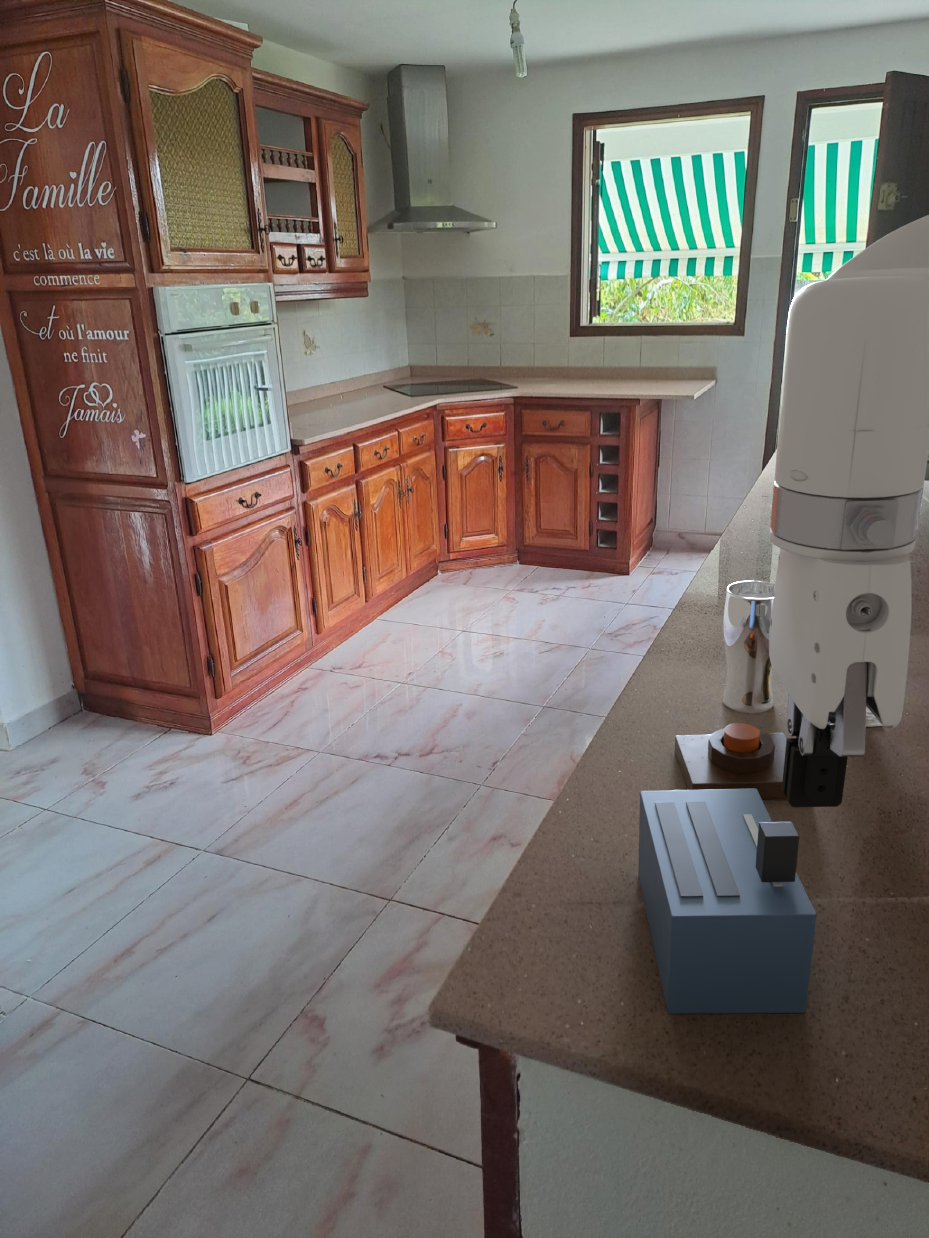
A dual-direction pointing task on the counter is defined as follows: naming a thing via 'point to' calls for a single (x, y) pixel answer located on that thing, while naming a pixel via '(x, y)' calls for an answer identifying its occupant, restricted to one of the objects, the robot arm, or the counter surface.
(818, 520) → the robot arm
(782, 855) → the toaster slider
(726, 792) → the toaster
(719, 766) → the block
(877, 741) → the counter surface
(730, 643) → the beer glass
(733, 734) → the button
